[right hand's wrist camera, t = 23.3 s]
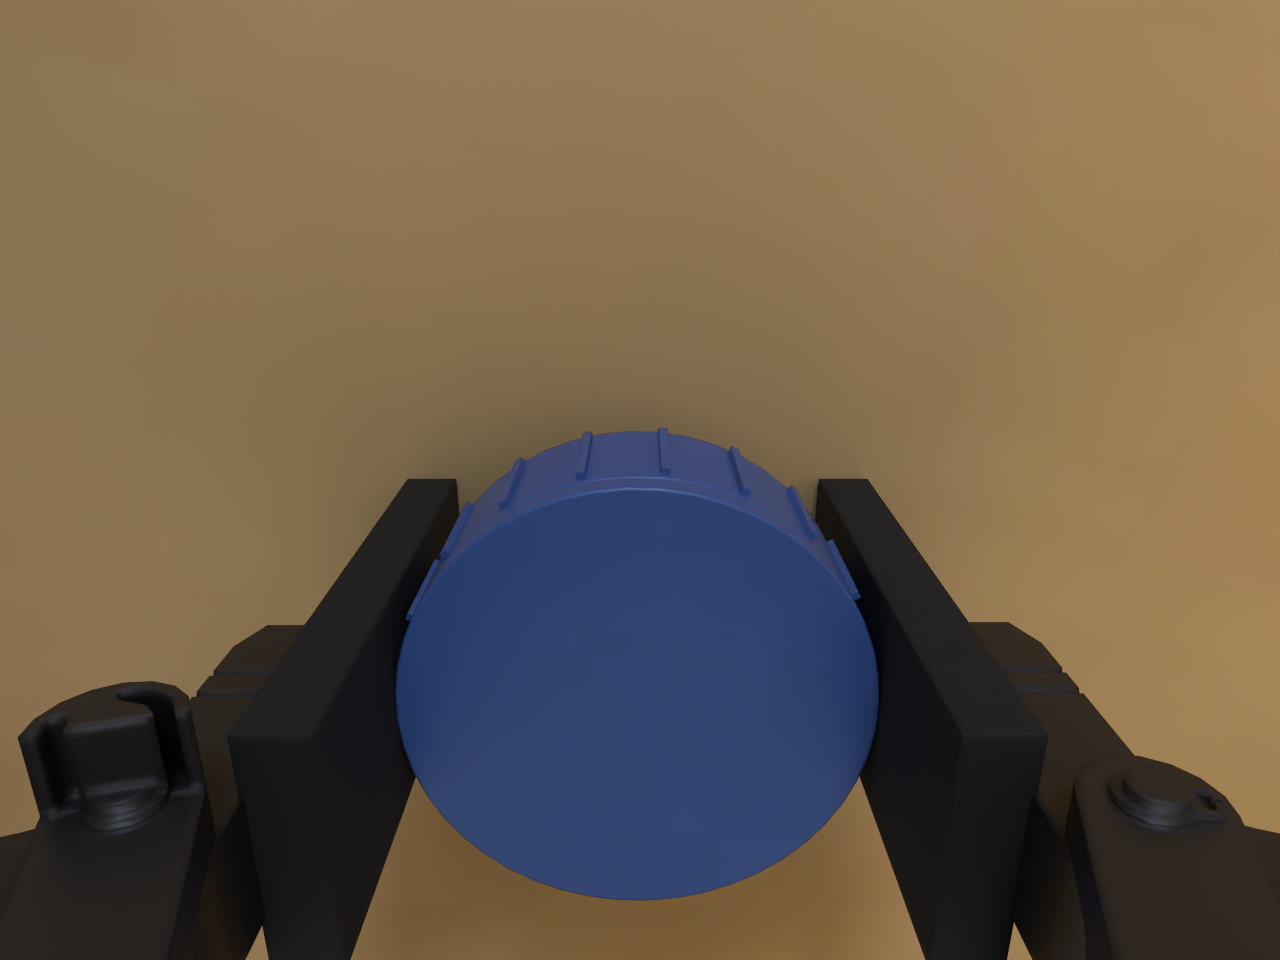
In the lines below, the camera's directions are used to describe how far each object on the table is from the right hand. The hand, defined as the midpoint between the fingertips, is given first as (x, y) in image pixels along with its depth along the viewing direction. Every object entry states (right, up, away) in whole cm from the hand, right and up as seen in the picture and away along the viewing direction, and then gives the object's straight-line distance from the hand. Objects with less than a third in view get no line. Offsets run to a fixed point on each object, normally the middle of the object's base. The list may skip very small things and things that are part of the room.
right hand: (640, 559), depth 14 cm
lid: (0, -1, -4) cm, 4 cm away
